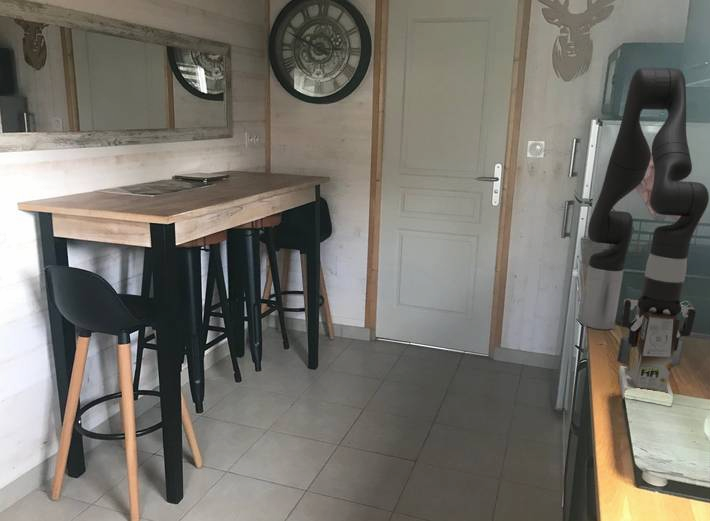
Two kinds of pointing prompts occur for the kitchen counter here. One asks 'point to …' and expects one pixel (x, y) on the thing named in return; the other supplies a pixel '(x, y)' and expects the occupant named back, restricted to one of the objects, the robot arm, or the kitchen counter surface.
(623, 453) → the kitchen counter surface
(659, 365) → the coffee box
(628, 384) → the tray
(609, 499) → the kitchen counter surface
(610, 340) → the kitchen counter surface
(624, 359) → the sleeve
